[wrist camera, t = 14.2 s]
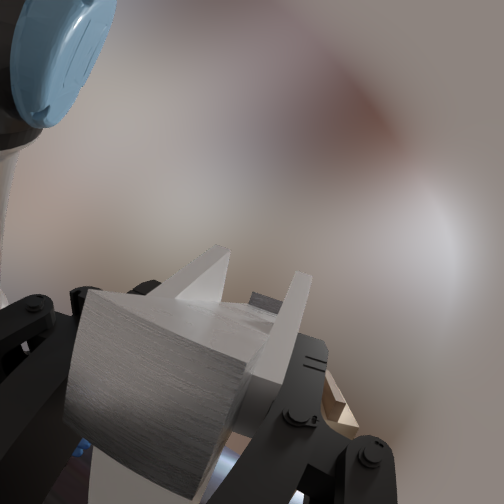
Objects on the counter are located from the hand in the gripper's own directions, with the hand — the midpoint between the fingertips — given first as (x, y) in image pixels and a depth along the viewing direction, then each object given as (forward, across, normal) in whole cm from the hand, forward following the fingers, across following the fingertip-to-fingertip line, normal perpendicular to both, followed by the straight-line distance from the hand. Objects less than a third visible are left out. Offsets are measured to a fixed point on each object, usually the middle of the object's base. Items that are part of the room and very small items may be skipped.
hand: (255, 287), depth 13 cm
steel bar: (+1, 0, -5) cm, 5 cm away
